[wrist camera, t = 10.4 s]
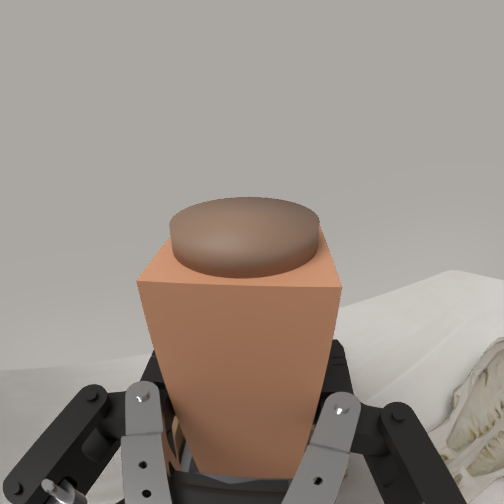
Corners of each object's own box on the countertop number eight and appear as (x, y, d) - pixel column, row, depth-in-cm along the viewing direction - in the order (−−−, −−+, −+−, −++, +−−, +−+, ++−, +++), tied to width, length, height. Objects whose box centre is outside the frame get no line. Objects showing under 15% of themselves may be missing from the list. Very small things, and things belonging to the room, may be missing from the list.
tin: (199, 472, 12) (130, 251, 7) (213, 403, 17) (185, 195, 11) (295, 478, 12) (346, 256, 6) (294, 407, 16) (317, 196, 11)
